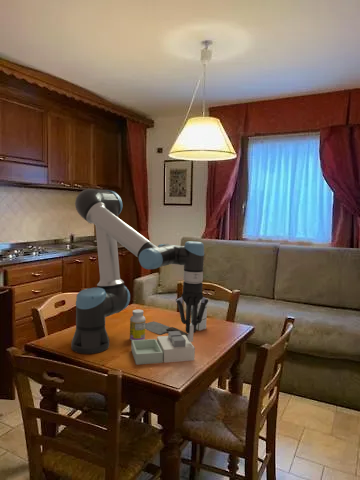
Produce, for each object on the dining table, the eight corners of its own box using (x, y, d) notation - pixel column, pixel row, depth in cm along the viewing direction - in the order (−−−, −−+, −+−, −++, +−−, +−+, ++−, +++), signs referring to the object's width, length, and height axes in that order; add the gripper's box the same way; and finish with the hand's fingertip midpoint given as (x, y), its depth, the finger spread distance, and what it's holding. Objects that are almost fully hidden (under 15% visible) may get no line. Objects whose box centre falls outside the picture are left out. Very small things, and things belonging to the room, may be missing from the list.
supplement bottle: (129, 337, 165) (129, 308, 164) (144, 336, 166) (144, 308, 165) (130, 342, 159) (130, 313, 157) (145, 342, 160) (146, 312, 159)
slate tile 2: (170, 341, 148) (170, 335, 148) (168, 337, 153) (168, 331, 152) (181, 340, 149) (181, 334, 149) (178, 336, 154) (178, 330, 153)
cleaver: (195, 339, 166) (195, 334, 166) (179, 344, 160) (180, 339, 159) (152, 323, 187) (152, 318, 187) (137, 327, 180) (137, 322, 180)
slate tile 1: (174, 347, 142) (174, 340, 142) (171, 342, 147) (171, 336, 146) (185, 346, 144) (185, 340, 143) (182, 342, 148) (182, 336, 148)
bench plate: (163, 362, 140) (164, 349, 140) (156, 348, 154) (157, 336, 153) (194, 360, 143) (194, 347, 143) (184, 346, 157) (185, 334, 156)
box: (136, 364, 137) (136, 354, 137) (131, 349, 151) (131, 340, 151) (162, 362, 140) (162, 352, 140) (155, 348, 153) (155, 338, 153)
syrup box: (206, 328, 180) (208, 299, 179) (198, 331, 176) (200, 301, 174) (197, 325, 184) (199, 296, 183) (189, 328, 180) (190, 298, 178)
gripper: (179, 284, 139) (176, 345, 141) (212, 283, 142) (209, 343, 145) (174, 279, 146) (171, 337, 148) (205, 279, 149) (202, 336, 152)
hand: (190, 340), depth 146 cm, fingers closed
